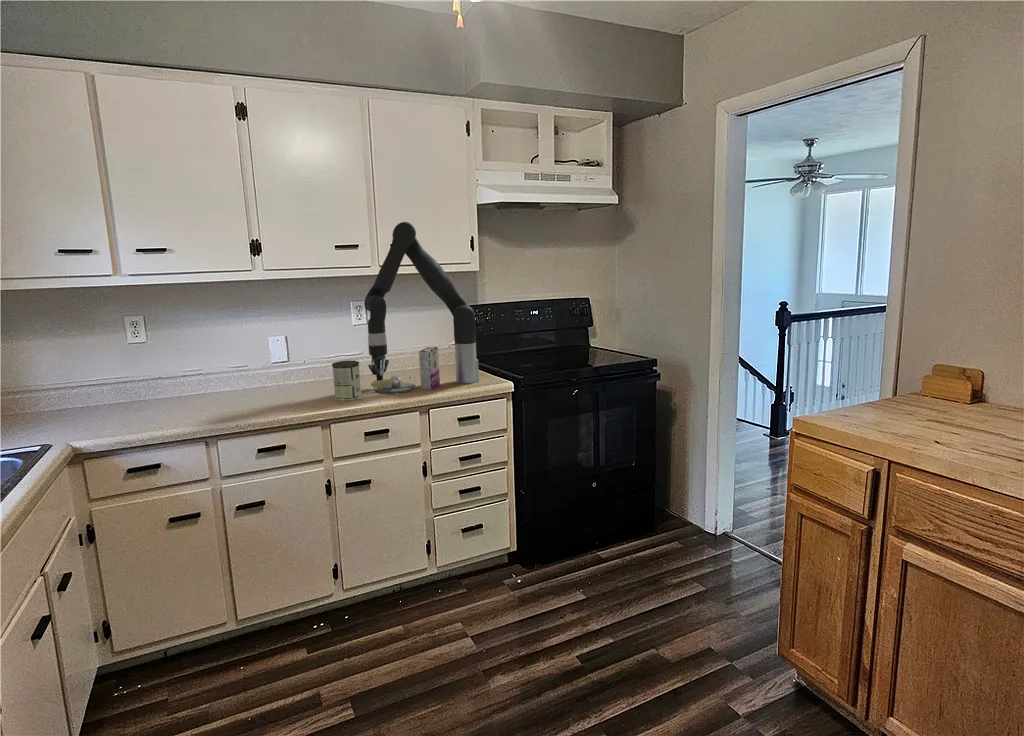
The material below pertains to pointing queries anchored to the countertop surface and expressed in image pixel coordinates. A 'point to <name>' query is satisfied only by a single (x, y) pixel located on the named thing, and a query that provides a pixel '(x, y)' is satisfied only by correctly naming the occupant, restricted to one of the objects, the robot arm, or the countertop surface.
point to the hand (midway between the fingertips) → (380, 383)
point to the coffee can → (346, 380)
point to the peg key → (388, 381)
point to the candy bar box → (429, 368)
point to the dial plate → (404, 388)
